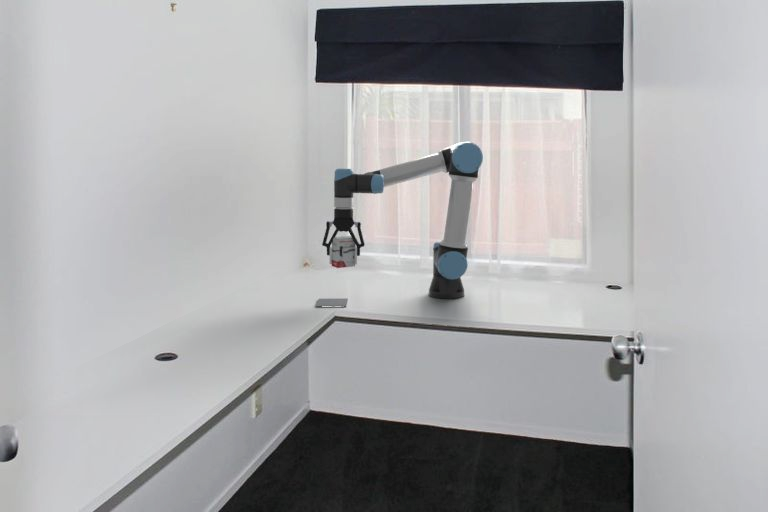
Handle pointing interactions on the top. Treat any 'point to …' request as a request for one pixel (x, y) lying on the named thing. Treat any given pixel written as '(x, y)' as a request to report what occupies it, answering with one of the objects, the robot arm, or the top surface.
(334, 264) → the ink box
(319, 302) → the slate coaster
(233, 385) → the top surface
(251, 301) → the top surface
